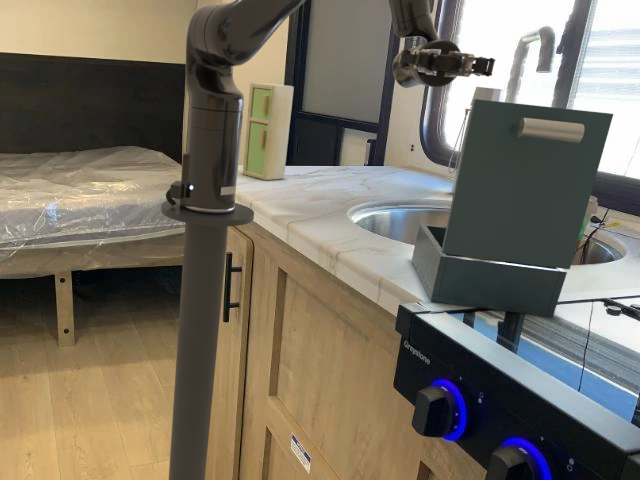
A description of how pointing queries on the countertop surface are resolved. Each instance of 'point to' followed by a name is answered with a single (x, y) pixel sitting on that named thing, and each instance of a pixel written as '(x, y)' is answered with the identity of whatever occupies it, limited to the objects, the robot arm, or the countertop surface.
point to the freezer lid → (524, 182)
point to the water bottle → (479, 94)
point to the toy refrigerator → (267, 130)
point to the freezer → (484, 279)
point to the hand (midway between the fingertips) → (453, 62)
